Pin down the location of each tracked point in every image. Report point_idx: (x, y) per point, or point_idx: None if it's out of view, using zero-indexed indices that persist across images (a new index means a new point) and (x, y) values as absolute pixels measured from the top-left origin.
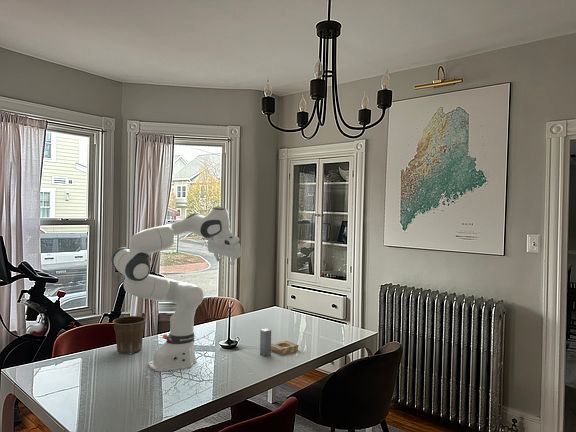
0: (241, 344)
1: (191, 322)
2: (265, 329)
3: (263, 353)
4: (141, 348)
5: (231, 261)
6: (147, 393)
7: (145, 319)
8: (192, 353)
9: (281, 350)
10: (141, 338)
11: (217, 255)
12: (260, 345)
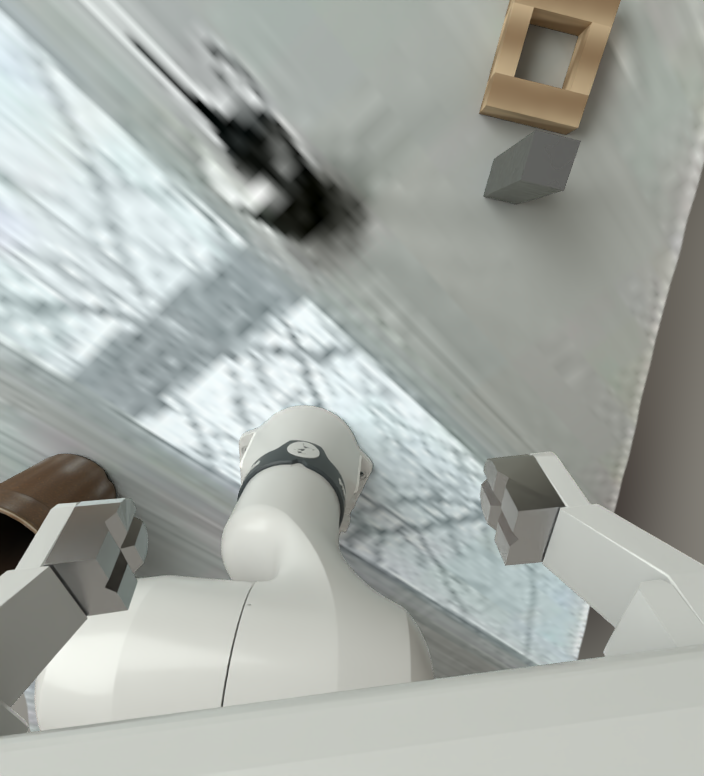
0: (318, 139)
1: (337, 533)
2: (543, 155)
3: (511, 201)
4: (97, 467)
5: (566, 576)
6: (429, 634)
7: (22, 520)
8: (352, 462)
9: (577, 124)
10: (81, 493)
11: (3, 646)
12: (497, 192)
